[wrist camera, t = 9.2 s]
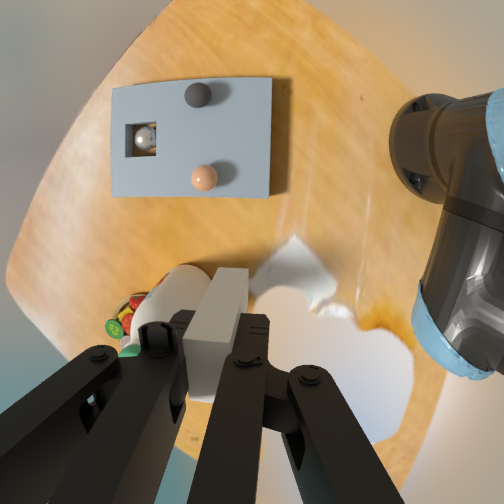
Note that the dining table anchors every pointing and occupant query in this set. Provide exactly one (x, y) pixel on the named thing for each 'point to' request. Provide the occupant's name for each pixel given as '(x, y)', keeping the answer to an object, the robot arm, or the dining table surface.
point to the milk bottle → (168, 301)
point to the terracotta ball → (204, 177)
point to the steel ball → (145, 138)
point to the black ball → (197, 95)
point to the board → (194, 138)
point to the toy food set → (123, 319)
